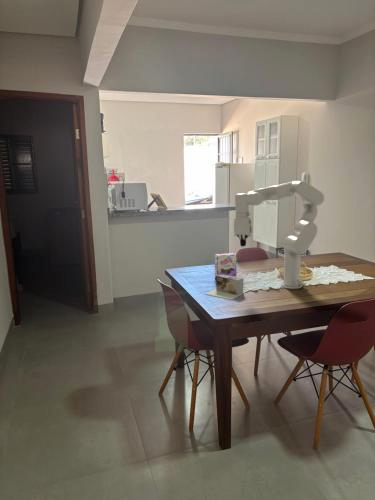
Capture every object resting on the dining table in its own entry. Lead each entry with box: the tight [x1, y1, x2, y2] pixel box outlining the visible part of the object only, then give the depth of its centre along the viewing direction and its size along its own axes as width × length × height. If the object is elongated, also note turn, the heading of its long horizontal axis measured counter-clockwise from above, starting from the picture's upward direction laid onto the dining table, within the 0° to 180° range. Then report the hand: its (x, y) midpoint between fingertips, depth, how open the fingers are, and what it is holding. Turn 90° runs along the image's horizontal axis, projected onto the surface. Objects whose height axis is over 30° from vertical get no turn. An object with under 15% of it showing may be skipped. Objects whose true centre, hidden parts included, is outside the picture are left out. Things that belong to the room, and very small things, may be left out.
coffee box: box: [215, 274, 244, 295], centre depth 222 cm, size 9×6×16 cm
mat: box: [205, 288, 247, 301], centre depth 221 cm, size 18×18×1 cm
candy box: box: [214, 252, 237, 279], centre depth 250 cm, size 14×6×16 cm, turn 101°
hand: (243, 245), depth 219 cm, fingers closed
